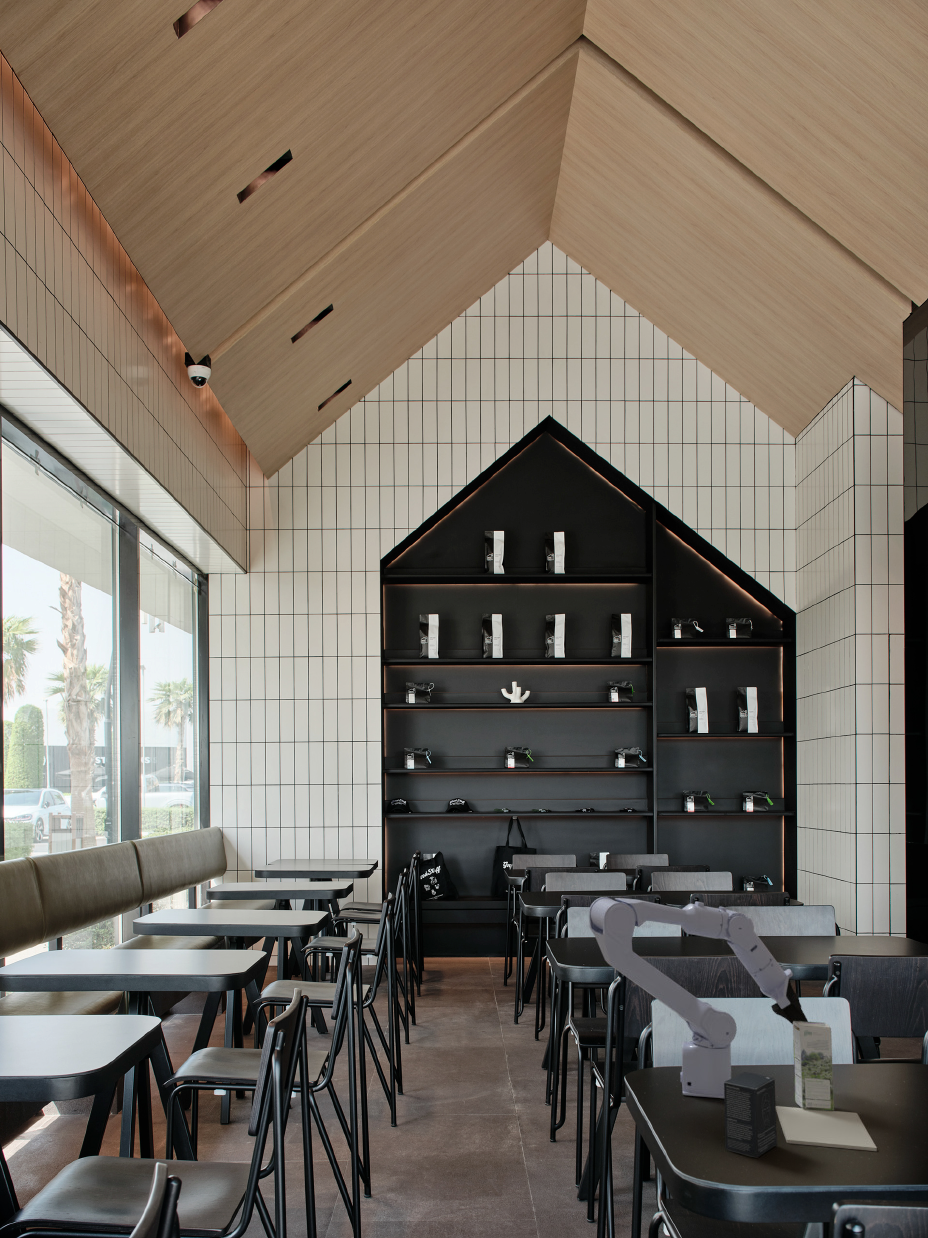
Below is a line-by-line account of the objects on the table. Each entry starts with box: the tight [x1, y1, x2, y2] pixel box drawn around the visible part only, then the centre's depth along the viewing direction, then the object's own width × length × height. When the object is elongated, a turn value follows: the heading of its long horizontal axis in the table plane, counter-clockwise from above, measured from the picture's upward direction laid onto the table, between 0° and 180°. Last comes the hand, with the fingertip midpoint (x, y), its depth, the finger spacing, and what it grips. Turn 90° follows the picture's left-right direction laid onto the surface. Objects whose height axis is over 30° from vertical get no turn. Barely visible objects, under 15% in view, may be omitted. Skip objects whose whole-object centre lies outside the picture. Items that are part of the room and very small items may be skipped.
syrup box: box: [792, 1021, 835, 1111], centre depth 186 cm, size 6×6×14 cm
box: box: [723, 1071, 778, 1159], centre depth 165 cm, size 8×6×11 cm
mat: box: [776, 1105, 878, 1152], centre depth 174 cm, size 14×18×1 cm
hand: (801, 1018), depth 199 cm, fingers open, 7 cm apart
